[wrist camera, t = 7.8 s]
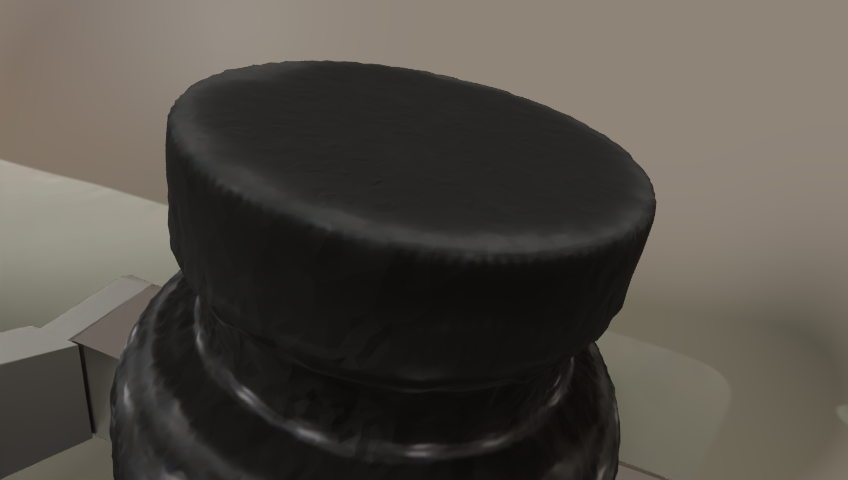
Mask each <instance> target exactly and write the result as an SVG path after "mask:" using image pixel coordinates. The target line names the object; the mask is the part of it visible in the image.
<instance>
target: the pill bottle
mask: <svg viewBox="0 0 848 480" xmlns="http://www.w3.org/2000/svg"><path fill="white" fill-rule="evenodd" d="M166 176H167V183H168V203H169V211H168V228H169V233H170V247H171V250H172V252H173V254H174V256H175V258H176V260H177V262H178V265H179V267H180V269H181V270H179V272H178V273H177V274H175V275H174V276H173V277H172V278H170V280H169V281H168V282H167V283H166V284H165V285H164V286H163V287H162V288H161V290H160V291H159V292H158V293H157V294H156V295H155V296H154V297H153V298H152V299H150V301H149V304H148V306H147V307H146V309H145V310H144V311H143V312H142V314H141V315H140V317H139V319H138V321H137V322H136V323H135V325H134V327H133V328H132V330H131V332H130V335H129V337H128V339H127V341H126V345H125V348H124V349H123V351H122V354H121V356H120V360H119V362H118V365H117V368H116V371H115V376H114V381H113V385H112V388H111V389H110V409H111V421H110V427H109V435H110V439H111V442H112V459H113V476H114V480H615V479H616V476H617V473H618V464H619V459H618V452H619V446H620V421H619V415H618V408H617V401H616V398H615V387H614V385H613V383H612V381H611V379H610V376H609V374H608V371H607V366H606V365H605V363H604V360H603V357H602V355H601V354H600V351H599V348H598V346H597V344H596V343H595V341H597V340H598V339H599V338H600V337H601V336H602V334H603V333H604V332H605V331H606V329H607V328H608V326H609V323H610V321H611V320H612V318H613V317H614V316H615V315H616V314H617V313H618V312H619V311H620V310H621V308H622V306H623V303H624V300H625V296H626V293H627V290H628V287H629V284H630V281H631V278H632V275H633V273H634V271H635V268H636V266H637V263H638V261H639V259H640V256H641V254H642V252H643V249H644V246H645V244H646V241H647V238H648V235H649V232H650V230H651V227H652V224H653V221H654V216H655V209H656V200H655V193H654V190H653V185H652V183H651V182H650V179H649V177H648V176H647V174H646V173H645V171H644V170H643V169H642V168H641V167H640V166H639V165H638V164H637V163H636V162H635V161H634V160H633V158H632V157H631V155H630V154H629V153H628V152H627V151H625V150H624V149H623V148H622V147H621V146H620V145H618V144H617V143H615V142H613V141H611V140H610V139H609V138H608V137H607V136H605V135H604V134H601V133H599V132H597V131H596V130H594V129H592V128H590V127H589V126H587V125H586V124H584V123H582V122H580V121H578V120H576V119H574V118H573V117H571V116H569V115H566V114H563V113H561V112H558V111H556V110H554V109H552V108H550V107H548V106H545V105H542V104H539V103H537V102H534V101H531V100H529V99H526V98H523V97H519V96H515V95H513V94H511V93H509V92H507V91H504V90H500V89H496V88H493V87H489V86H485V85H481V84H477V83H472V82H468V81H462V80H459V79H456V78H454V77H449V76H444V75H437V74H434V73H430V72H426V71H420V70H413V69H407V68H400V67H390V66H385V65H379V64H362V63H358V62H344V61H343V62H335V61H327V60H326V61H285V62H282V63H267V64H263V65H252V66H249V67H244V68H238V69H230V70H225V71H224V72H222V73H220V74H216V75H212V76H210V77H209V78H206V79H203V80H201V81H199V82H197V83H195V84H194V85H192V86H190V87H189V88H188V89H187V91H186V92H185V93H184V94H182V95H181V96H180V98H178V99H177V100H176V101H175V104H174V105H173V106H172V107H171V110H170V113H169V115H168V121H167V132H166Z"/></svg>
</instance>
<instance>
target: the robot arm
mask: <svg viewBox="0 0 848 480" xmlns="http://www.w3.org/2000/svg"><path fill="white" fill-rule="evenodd" d="M161 288H162V287H161V286H159V285H154V284H152V283H150V282H147V281H145V280H142V279H140V278H137V277H135V276H133V275H129V276H122V277H120V278H118V279H116V280H115V281H113V282H112V283H110V284H109V285H107V286H106V287H104V288H102V289H101V290H99V291H98V292H96V293H95V294H93V295H92V296H90V297H88V298H87V299H85V300H84V301H82V302H81V303H79V304H78V305H76V306H74V307H73V308H71V309H70V310H68V311H67V312H65V313H64V314H62V315H61V316H59V317H57V318H56V319H54V320H53V321H51V322H50V323H48V324H47V325H45V326H43V327H42V328H37V327H34V326H27V327H22V328H17V329H13V330H8V331H4V332H0V479H2V478H4V477H6V476H9V475H11V474H13V473H15V472H17V471H20V470H22V469H24V468H26V467H29V466H31V465H33V464H35V463H37V462H40V461H42V460H44V459H46V458H49V457H51V456H53V455H55V454H57V453H60V452H62V451H64V450H66V449H69V448H71V447H73V446H75V445H77V444H80V443H82V442H84V441H86V440H89V439H91V438H92V435H95V436H97V437H100V438H102V439H105V440H107V441H110V442H111V439H110V435H109V427H110V421H111V409H110V389H111V388H112V385H113V381H114V376H115V371H116V368H117V365H118V362H119V360H120V356H121V354H122V351H123V349H124V348H125V345H126V341H127V339H128V337H129V335H130V332H131V330H132V328H133V327H134V325H135V323H136V322H137V321H138V319H139V317H140V315H141V314H142V312H143V311H144V310H145V309H146V307H147V306H148V304H149V301H150V299H152V298H153V297H154V296H155V295H156V294H157V293H158V292H159V291H160V290H161ZM615 480H671V479H666V478H665V477H662V476H660V475H657V474H654V473H652V472H649V471H646V470H643V469H641V468H638V467H635V466H633V465H630V464H627V463H624V462H622V461H619V464H618V473H617V476H616V479H615Z"/></svg>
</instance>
